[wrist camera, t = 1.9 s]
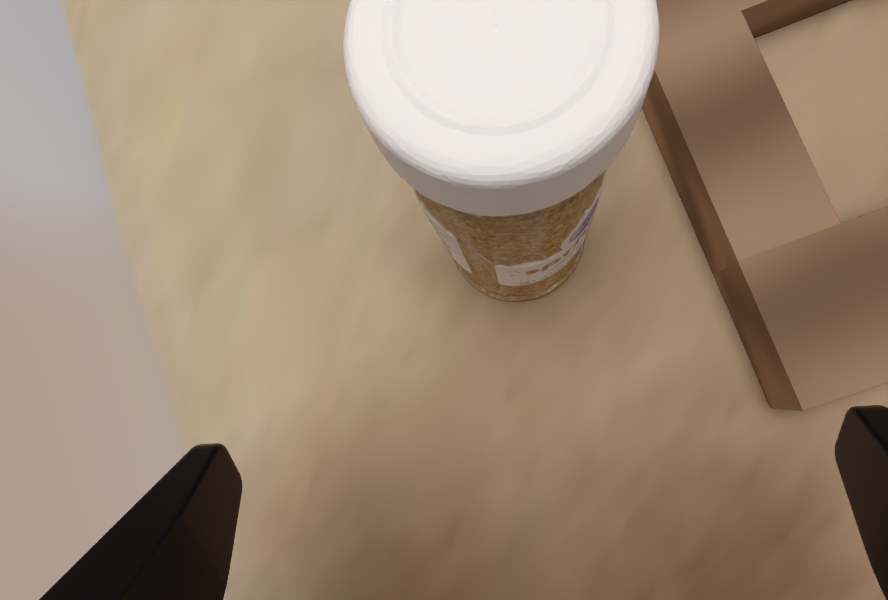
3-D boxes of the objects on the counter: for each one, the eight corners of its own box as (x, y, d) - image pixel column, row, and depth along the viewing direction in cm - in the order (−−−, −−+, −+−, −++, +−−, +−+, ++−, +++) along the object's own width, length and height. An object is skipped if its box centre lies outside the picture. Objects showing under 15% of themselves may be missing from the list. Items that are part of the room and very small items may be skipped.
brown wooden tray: (1197, 261, 19) (1293, 244, 17) (770, 407, 21) (803, 411, 18) (952, -177, 22) (1005, -247, 20) (584, -28, 23) (590, -76, 21)
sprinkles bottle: (571, 313, 22) (636, 207, 8) (437, 289, 22) (303, 158, 9) (594, 181, 22) (691, -117, 9) (462, 161, 23) (370, -142, 10)
